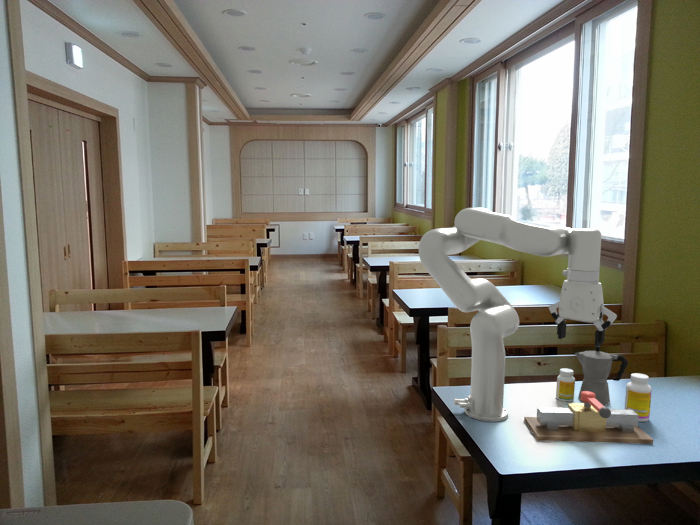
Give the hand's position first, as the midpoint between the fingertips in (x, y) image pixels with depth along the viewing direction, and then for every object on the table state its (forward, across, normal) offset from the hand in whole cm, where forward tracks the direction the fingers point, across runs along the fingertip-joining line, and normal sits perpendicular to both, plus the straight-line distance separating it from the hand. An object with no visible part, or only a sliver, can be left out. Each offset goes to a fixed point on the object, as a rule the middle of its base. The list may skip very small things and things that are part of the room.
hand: (579, 341), depth 144 cm
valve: (+27, 0, +7) cm, 28 cm away
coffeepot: (+27, -7, +34) cm, 44 cm away
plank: (+27, 0, +7) cm, 28 cm away
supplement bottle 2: (+27, +6, +28) cm, 40 cm away
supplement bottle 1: (+27, -15, +27) cm, 41 cm away
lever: (+20, +4, +3) cm, 20 cm away
